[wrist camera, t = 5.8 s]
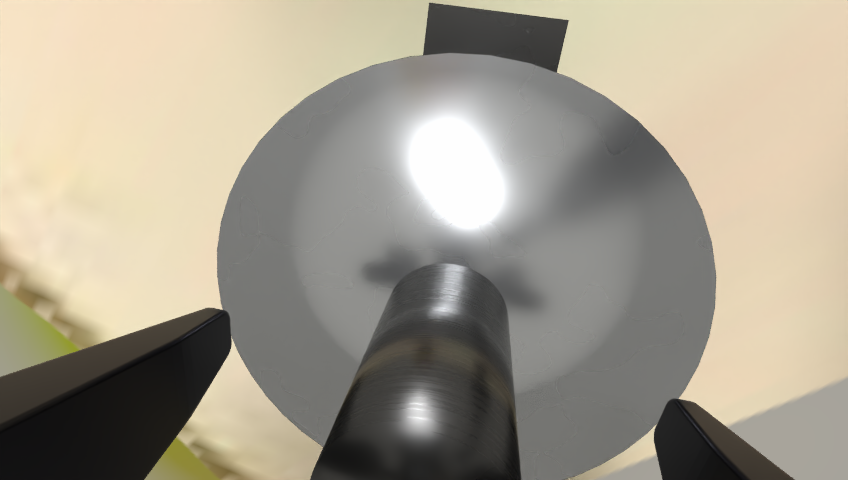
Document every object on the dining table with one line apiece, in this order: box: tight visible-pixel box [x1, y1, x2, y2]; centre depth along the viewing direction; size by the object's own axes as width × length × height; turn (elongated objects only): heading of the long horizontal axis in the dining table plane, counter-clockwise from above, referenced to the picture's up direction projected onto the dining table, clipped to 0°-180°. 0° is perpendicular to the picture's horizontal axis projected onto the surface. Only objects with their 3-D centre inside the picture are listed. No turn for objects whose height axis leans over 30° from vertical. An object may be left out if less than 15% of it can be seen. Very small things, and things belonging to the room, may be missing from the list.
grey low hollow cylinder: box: [423, 3, 569, 73], centre depth 13 cm, size 11×14×5 cm
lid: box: [217, 53, 716, 480], centre depth 8 cm, size 12×12×6 cm
